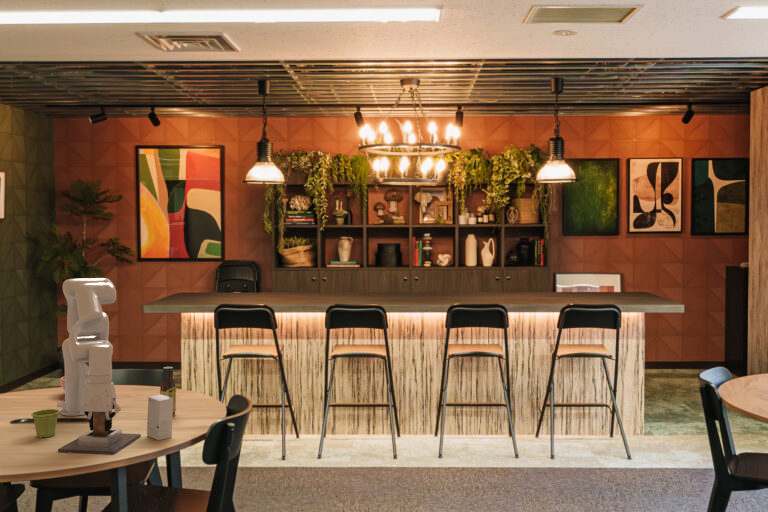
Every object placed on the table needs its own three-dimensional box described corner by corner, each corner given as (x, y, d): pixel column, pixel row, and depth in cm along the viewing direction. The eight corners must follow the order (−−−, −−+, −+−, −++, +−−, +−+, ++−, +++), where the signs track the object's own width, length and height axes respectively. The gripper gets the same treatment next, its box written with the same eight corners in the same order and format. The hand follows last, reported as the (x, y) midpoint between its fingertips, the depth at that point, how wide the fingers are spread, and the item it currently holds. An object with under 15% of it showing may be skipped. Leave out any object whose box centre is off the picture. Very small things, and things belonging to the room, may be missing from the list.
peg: (90, 440, 240) (90, 412, 239) (97, 436, 244) (97, 408, 244) (103, 441, 239) (103, 413, 239) (110, 436, 244) (110, 409, 244)
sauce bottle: (170, 418, 276) (170, 369, 275) (156, 417, 277) (156, 368, 276) (178, 414, 282) (178, 366, 282) (165, 413, 284) (164, 365, 283)
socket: (58, 452, 233) (57, 440, 233) (88, 434, 253) (88, 424, 253) (113, 454, 231) (113, 442, 231) (140, 436, 251) (140, 426, 251)
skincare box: (146, 436, 251) (146, 396, 251) (161, 432, 256) (161, 393, 256) (159, 441, 246) (158, 400, 246) (173, 437, 251) (173, 397, 250)
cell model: (97, 388, 327) (97, 365, 326) (103, 397, 310) (103, 372, 309) (58, 392, 318) (58, 368, 318) (63, 401, 301) (62, 376, 301)
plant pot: (41, 441, 245) (41, 417, 244) (26, 436, 250) (25, 413, 249) (65, 434, 253) (65, 411, 252) (50, 430, 258) (50, 407, 257)
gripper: (71, 380, 238) (72, 432, 239) (118, 382, 236) (118, 433, 237) (83, 376, 246) (83, 425, 246) (128, 377, 244) (128, 427, 245)
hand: (100, 429), depth 242 cm, fingers closed on peg, 4 cm apart
